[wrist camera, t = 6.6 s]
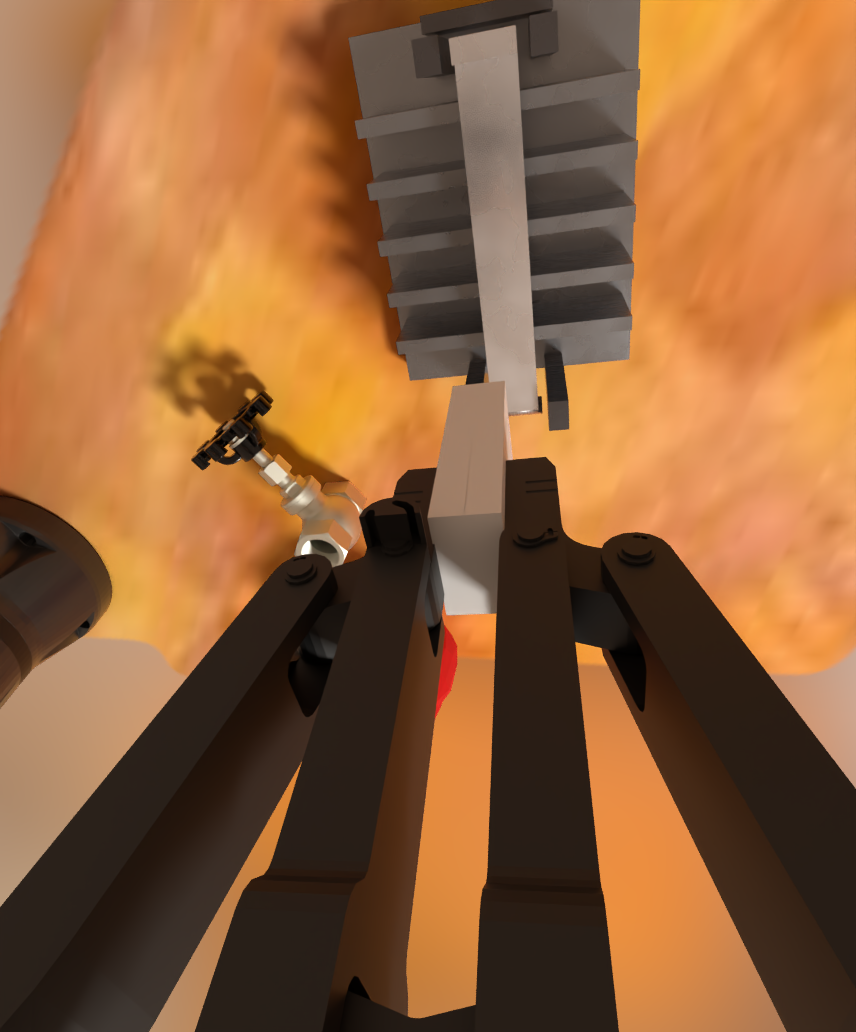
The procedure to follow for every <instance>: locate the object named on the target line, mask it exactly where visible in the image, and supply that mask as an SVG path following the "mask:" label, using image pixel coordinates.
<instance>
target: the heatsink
mask: <svg viewBox="0 0 856 1032" xmlns="http://www.w3.org/2000/svg"><path fill="white" fill-rule="evenodd" d="M639 24H640V0H495V1H490V2H486V3H481V4H476V5H471V6H467V7H462V8H457V9H452V10H448V11H443V12H438V13H433V14H429V15H424V16H420V23H417V24H412V25H408V26H403V27H398V28H393V29H388V30H384V31H379V32H374V33H369V34H364V35H360V36H355V37H350V38H348V39H349V44H350V50H351V55H352V61H353V67H354V72H355V78H356V83H357V89H358V94H359V100H360V105H361V111H362V117H363V119H360V120H356V121H355V125H356V131H357V136H358V139H363V138H366V139H367V144H368V150H369V155H370V161H371V167H372V172H373V178H374V179H373V180H372V181H370V182H369V183H368V184H367V190H368V195H369V200H370V201H373V200H378V205H379V211H380V216H381V222H382V228H383V233H384V234H383V236H382V237H381V238H380V239H379V240H378V241H377V243H378V249H379V254H380V257H383V256H388V261H389V266H390V272H391V278H392V283H393V285H392V287H391V288H390V290H389V292H388V293H387V297H388V302H389V307H390V308H394V307H397V311H398V316H399V322H400V328H401V332H400V334H399V337H398V339H397V341H396V345H397V350H398V355H401V354H405V355H406V361H407V366H408V372H409V377H410V381H412V380H422V379H432V378H442V377H453V376H463V375H467V380H466V385H470V384H479V383H488V382H489V377H488V368H487V359H486V350H485V341H484V332H483V322H482V313H481V304H480V295H479V286H478V277H477V267H476V258H475V249H474V240H473V231H472V221H471V212H470V203H469V194H468V185H467V176H466V166H465V157H464V148H463V139H462V130H461V120H460V111H459V102H458V93H457V84H456V75H455V65H453V66H452V64H451V55H450V46H449V38H453V37H458V36H463V35H468V34H473V33H478V32H483V31H488V30H493V29H498V28H503V27H508V26H513V25H516V35H517V52H518V69H519V86H520V103H521V120H522V137H523V155H524V172H525V189H526V206H527V223H528V240H529V257H530V275H531V292H532V309H533V326H534V343H535V360H536V368H545V379H546V393H547V406H548V420H549V431H552V430H565V429H569V406H568V394H567V387H566V380H565V373H564V366H565V365H576V364H586V363H596V362H606V361H617V360H627V359H629V351H630V330H632V314H631V286H632V279H633V276H634V262H633V261H632V253H633V222H635V214H636V205H635V204H634V188H635V160H636V159H637V151H638V140H636V122H637V90H639V89H640V69H638V57H639Z"/></svg>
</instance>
